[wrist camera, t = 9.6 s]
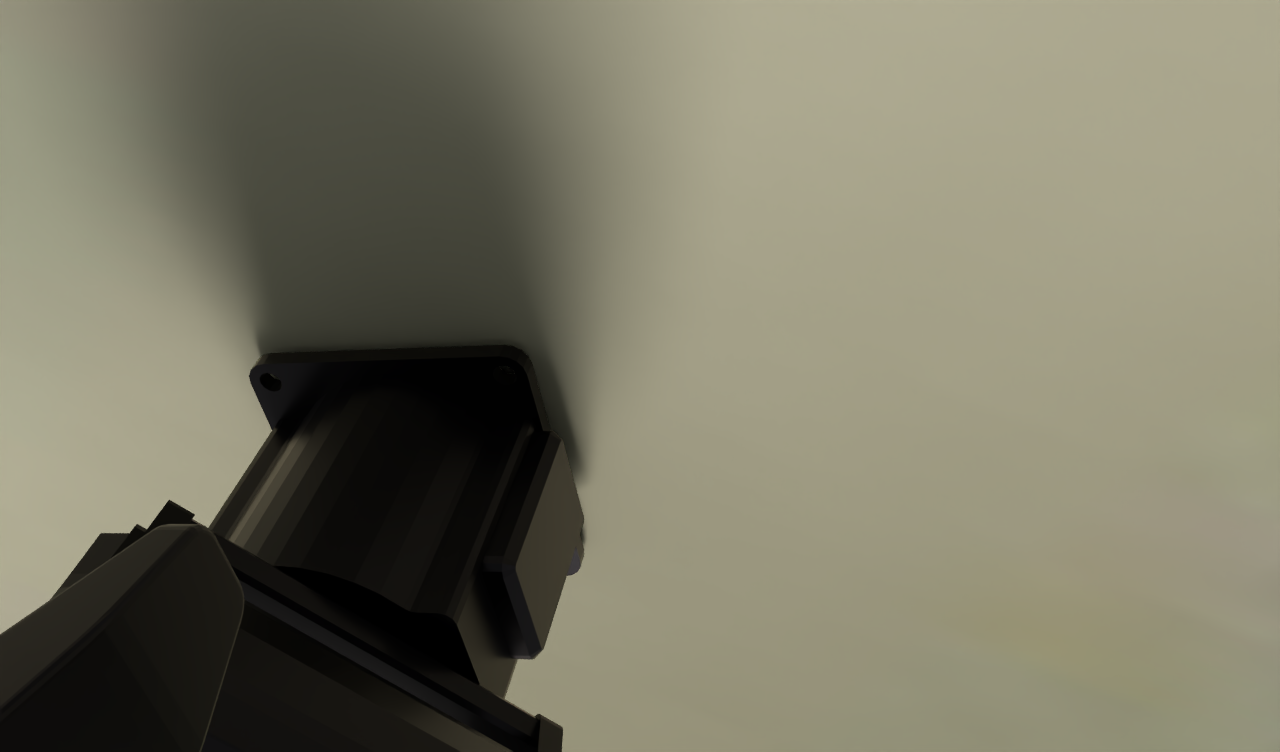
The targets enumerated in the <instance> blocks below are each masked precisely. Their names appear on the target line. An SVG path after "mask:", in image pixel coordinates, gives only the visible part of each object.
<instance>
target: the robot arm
mask: <svg viewBox="0 0 1280 752" xmlns="http://www.w3.org/2000/svg"><path fill="white" fill-rule="evenodd" d="M499 366H506V367H509V368H511V369H512V370H513V371H514V372H515V373H514V374H510V373H506V372H505V371H503V370H501V368H500V367H499ZM269 373H270V374H273V375H275V376H277V377H278V378H279V380H277V379H275V378H273V377H272V376H271V375H270V374H269ZM249 377H250V382H251V385H252V387H253V389H254V391H255V393H256V396H257V398H258V400H259V402H260V404H261V407H262V409H263V411H264V413H265V415H266V418H267V420H268V422H269V424H270V426H271V429H272V432H271V433H270V435H269V436H268V438H267V439H266V441H265V442H264V444H263V445H262V447H261V449H260V450H259V452H258V453H257V455H256V456H255V458H254V459H253V461H252V462H251V464H250V465H249V467H248V468H247V470H246V471H245V473H244V474H243V476H242V477H241V479H240V480H239V482H238V484H237V485H236V487H235V488H234V490H233V491H232V493H231V494H230V496H229V497H228V499H227V500H226V502H225V503H224V505H223V506H222V508H221V509H220V511H219V512H218V514H217V515H216V517H215V519H214V520H213V522H212V523H211V525H210V526H209V528H207V527H206V526H204V525H202V524H200V523H198V522H197V521H195V520H193V519H192V518H193V517H194V515H195V514H193V513H191V512H190V511H188V510H186V509H184V508H183V507H181V506H179V505H177V504H176V503H174V502H172V501H170V500H169V501H168V502H167V503H166V505H165V506H164V507H163V509H162V510H161V511H160V513H159V514H158V515H157V517H156V518H155V519H154V521H153V522H152V523H151V525H150V526H149V528H148V529H145V528H143V527H142V526H140V525H138V524H137V525H136V526H135V527H134V528H133V530H132V531H131V532H130V533H101V534H100V535H99V536H98V538H97V539H96V540H95V542H94V543H93V544H92V546H91V547H90V548H89V550H88V551H87V552H86V554H85V555H84V556H83V558H82V559H81V560H80V562H79V563H78V564H77V566H76V567H75V568H74V570H73V571H72V572H71V574H70V575H69V576H68V578H67V579H66V580H65V582H64V583H63V584H62V585H61V587H60V588H59V589H58V591H57V592H56V593H55V594H54V596H53V597H52V598H51V599H50V601H48V602H47V603H45V604H44V605H42V606H41V607H40V608H38V609H37V610H35V611H34V612H32V613H31V614H29V615H28V616H26V617H25V618H24V619H22V620H21V621H19V622H18V623H16V624H15V625H13V626H12V627H10V628H9V629H8V630H6V631H5V632H3V633H2V634H0V752H562V737H563V728H562V727H561V726H560V725H558V724H556V723H554V722H553V721H551V720H549V719H547V718H546V717H544V716H542V715H541V714H538V715H536V716H533V715H531V714H529V713H528V712H526V711H524V710H522V709H521V708H519V707H517V706H515V705H514V704H512V703H510V702H509V701H507V700H505V696H506V693H507V690H508V687H509V684H510V681H511V678H512V675H513V672H514V669H515V666H516V663H517V660H518V659H535V658H536V656H537V655H538V654H539V653H540V652H541V651H542V650H543V649H544V646H545V643H546V640H547V637H548V633H549V630H550V627H551V624H552V621H553V618H554V614H555V611H556V608H557V605H558V602H559V599H560V595H561V592H562V589H563V586H564V583H565V580H566V576H568V575H573V574H575V573H576V572H578V570H579V569H580V567H581V563H582V560H583V557H584V547H583V544H582V540H581V537H580V532H581V529H582V526H583V522H584V516H583V512H582V509H581V505H580V501H579V498H578V494H577V490H576V487H575V483H574V479H573V476H572V472H571V468H570V465H569V461H568V458H567V454H566V450H565V447H564V443H563V440H562V439H561V438H560V437H559V436H558V435H557V434H556V432H555V431H551V429H550V426H549V422H548V419H547V415H546V412H545V408H544V404H543V401H542V397H541V394H540V390H539V387H538V383H537V379H536V376H535V372H534V369H533V365H532V362H531V360H530V359H529V357H528V356H527V355H526V354H525V353H524V352H523V351H522V350H520V349H518V348H516V347H514V346H507V345H492V346H464V347H435V348H407V349H379V350H351V351H322V352H294V353H270V354H266V355H263V356H262V357H261V358H259V359H258V361H257V362H256V364H255V365H254V366H253V368H252V369H251V371H250V375H249Z"/></svg>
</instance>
